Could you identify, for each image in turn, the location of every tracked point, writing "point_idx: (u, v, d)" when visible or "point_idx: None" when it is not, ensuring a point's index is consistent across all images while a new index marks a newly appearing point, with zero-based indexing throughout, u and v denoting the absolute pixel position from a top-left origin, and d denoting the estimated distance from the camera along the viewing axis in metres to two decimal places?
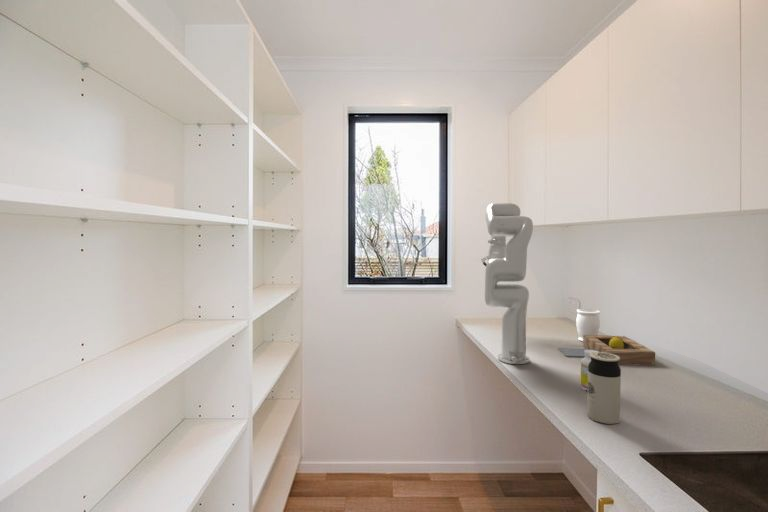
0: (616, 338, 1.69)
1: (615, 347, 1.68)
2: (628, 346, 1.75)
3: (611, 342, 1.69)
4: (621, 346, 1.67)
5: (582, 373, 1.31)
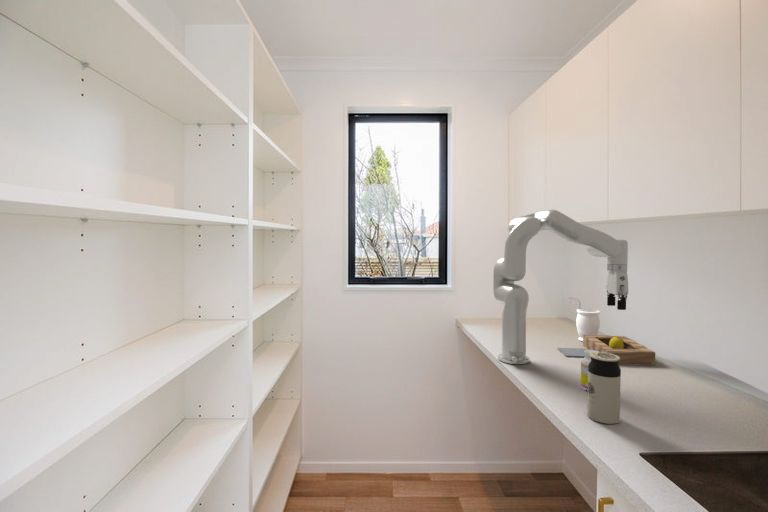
0: (616, 338, 1.69)
1: (615, 347, 1.68)
2: (628, 346, 1.75)
3: (611, 342, 1.69)
4: (621, 346, 1.67)
5: (582, 373, 1.31)
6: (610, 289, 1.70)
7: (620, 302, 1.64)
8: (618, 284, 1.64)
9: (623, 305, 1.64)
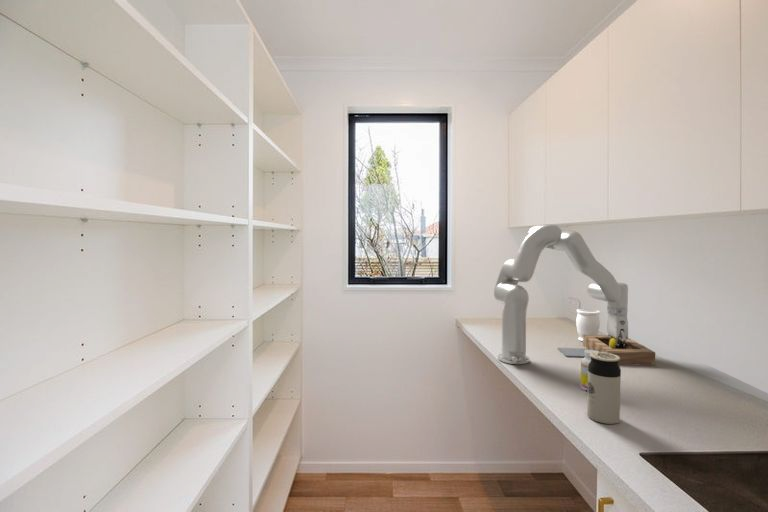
0: None
1: None
2: (628, 346, 1.75)
3: (611, 342, 1.69)
4: None
5: (582, 373, 1.31)
6: (610, 332, 1.71)
7: (618, 347, 1.66)
8: (618, 328, 1.65)
9: None
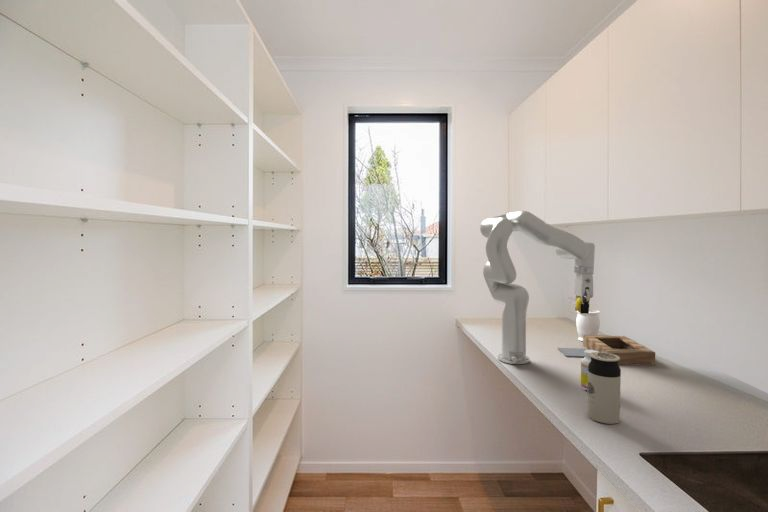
0: None
1: None
2: (628, 346, 1.75)
3: (577, 301, 1.70)
4: None
5: (582, 373, 1.31)
6: (576, 291, 1.71)
7: (583, 306, 1.67)
8: (583, 286, 1.66)
9: (586, 309, 1.67)
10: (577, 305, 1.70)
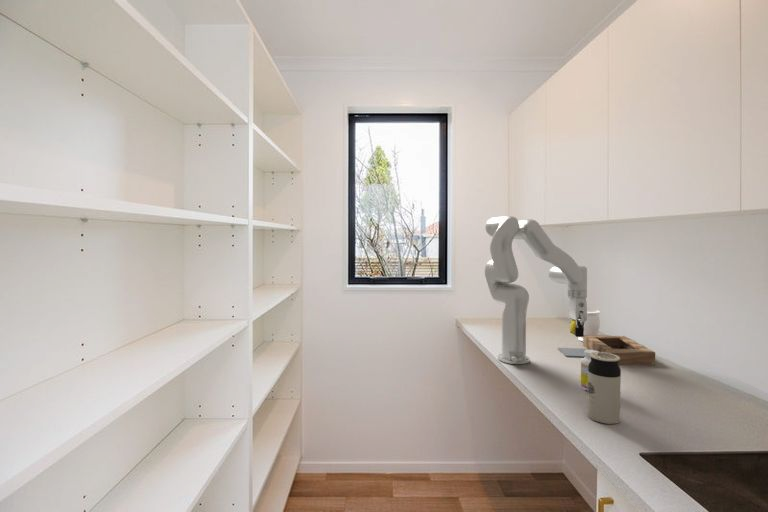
0: None
1: None
2: (628, 346, 1.75)
3: (572, 324, 1.71)
4: None
5: (582, 373, 1.31)
6: (571, 314, 1.72)
7: (578, 329, 1.68)
8: (577, 310, 1.67)
9: (581, 332, 1.68)
10: (572, 328, 1.71)
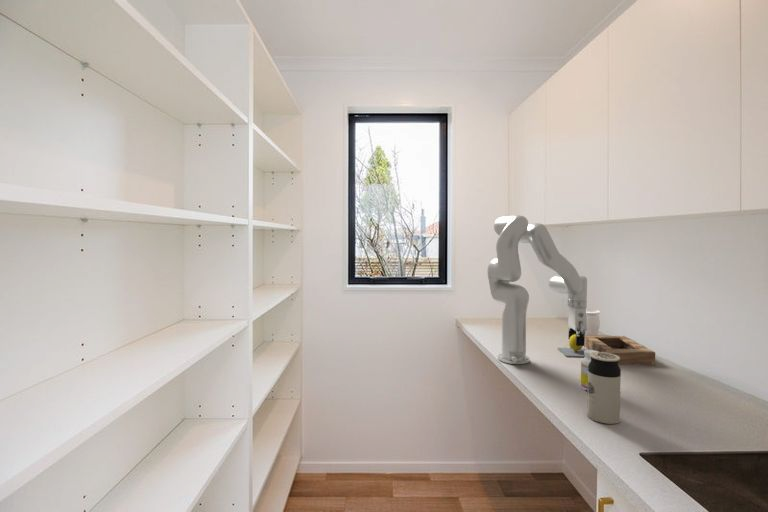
0: (575, 335, 1.71)
1: (574, 344, 1.70)
2: (628, 346, 1.75)
3: (571, 339, 1.72)
4: None
5: (582, 373, 1.31)
6: (570, 324, 1.73)
7: (579, 338, 1.67)
8: (577, 320, 1.67)
9: (581, 341, 1.66)
10: (571, 343, 1.71)
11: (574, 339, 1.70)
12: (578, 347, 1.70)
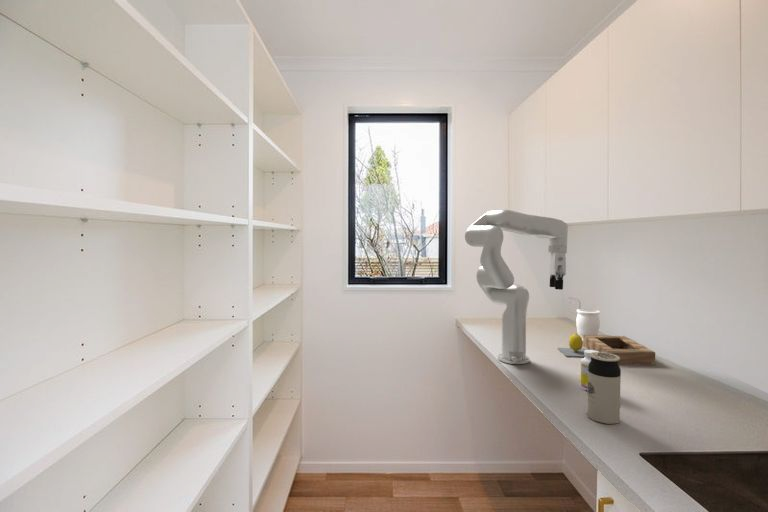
0: (575, 335, 1.71)
1: (574, 344, 1.70)
2: (628, 346, 1.75)
3: (570, 339, 1.72)
4: (580, 343, 1.70)
5: (582, 373, 1.31)
6: (551, 270, 1.76)
7: (557, 282, 1.70)
8: (556, 264, 1.70)
9: (560, 285, 1.69)
10: (571, 343, 1.71)
11: (574, 339, 1.71)
12: (578, 347, 1.70)
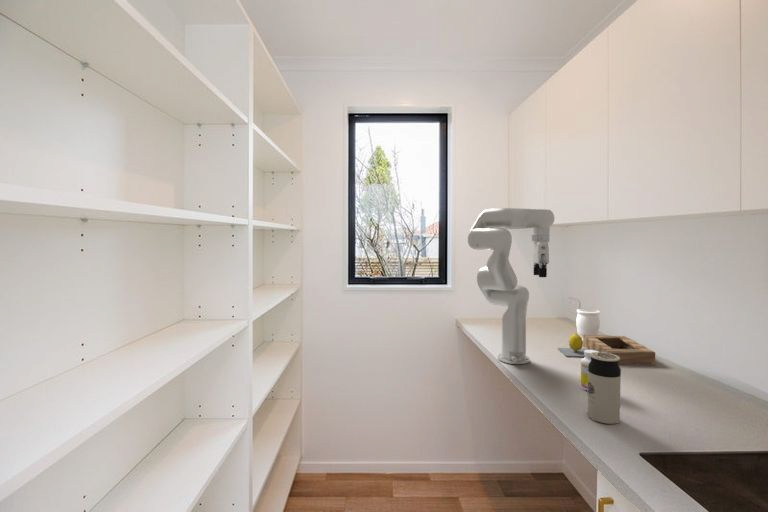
0: (575, 335, 1.71)
1: (574, 344, 1.70)
2: (628, 346, 1.75)
3: (570, 339, 1.72)
4: (580, 343, 1.70)
5: (582, 373, 1.31)
6: (534, 259, 1.80)
7: (541, 270, 1.74)
8: (539, 253, 1.74)
9: (544, 273, 1.74)
10: (571, 343, 1.71)
11: (574, 339, 1.71)
12: (578, 347, 1.70)
